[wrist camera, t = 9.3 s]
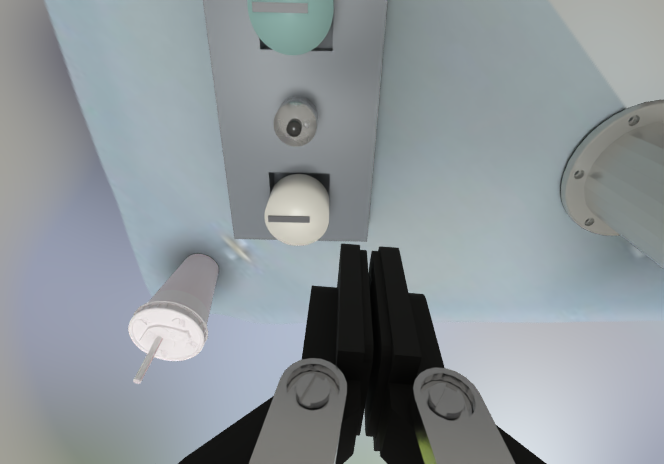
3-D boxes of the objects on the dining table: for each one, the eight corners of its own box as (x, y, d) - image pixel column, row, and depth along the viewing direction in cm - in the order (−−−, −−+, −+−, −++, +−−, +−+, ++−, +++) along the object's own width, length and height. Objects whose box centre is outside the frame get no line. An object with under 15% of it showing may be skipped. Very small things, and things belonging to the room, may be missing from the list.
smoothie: (160, 247, 38) (82, 356, 26) (220, 238, 38) (168, 346, 26) (183, 294, 41) (123, 410, 29) (239, 287, 41) (200, 402, 29)
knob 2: (330, 164, 32) (329, 190, 27) (329, 214, 35) (328, 247, 30) (272, 162, 32) (261, 189, 27) (275, 213, 35) (266, 246, 30)
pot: (317, 96, 27) (316, 107, 24) (317, 136, 29) (316, 151, 26) (276, 95, 27) (270, 106, 24) (279, 135, 29) (272, 150, 26)
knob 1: (334, -35, 25) (334, -45, 20) (332, 48, 27) (332, 56, 23) (259, -37, 25) (242, -48, 20) (264, 46, 27) (250, 54, 23)
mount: (386, -58, 25) (393, -67, 22) (364, 222, 37) (367, 241, 34) (209, -63, 25) (193, -73, 22) (242, 219, 36) (234, 238, 33)
